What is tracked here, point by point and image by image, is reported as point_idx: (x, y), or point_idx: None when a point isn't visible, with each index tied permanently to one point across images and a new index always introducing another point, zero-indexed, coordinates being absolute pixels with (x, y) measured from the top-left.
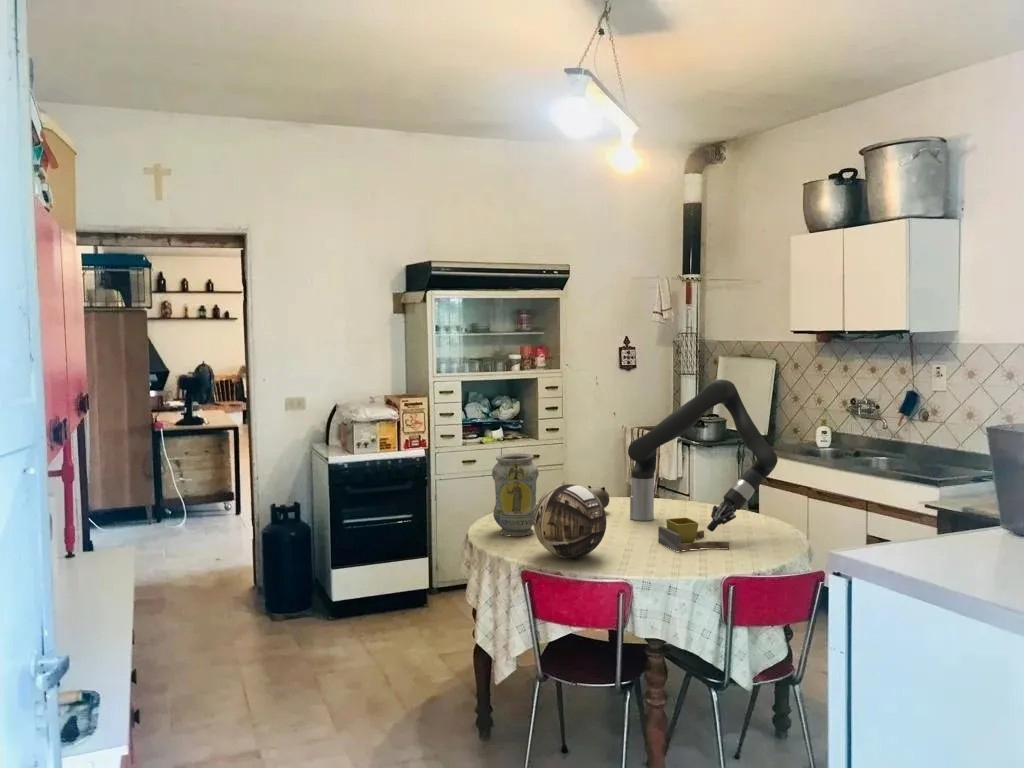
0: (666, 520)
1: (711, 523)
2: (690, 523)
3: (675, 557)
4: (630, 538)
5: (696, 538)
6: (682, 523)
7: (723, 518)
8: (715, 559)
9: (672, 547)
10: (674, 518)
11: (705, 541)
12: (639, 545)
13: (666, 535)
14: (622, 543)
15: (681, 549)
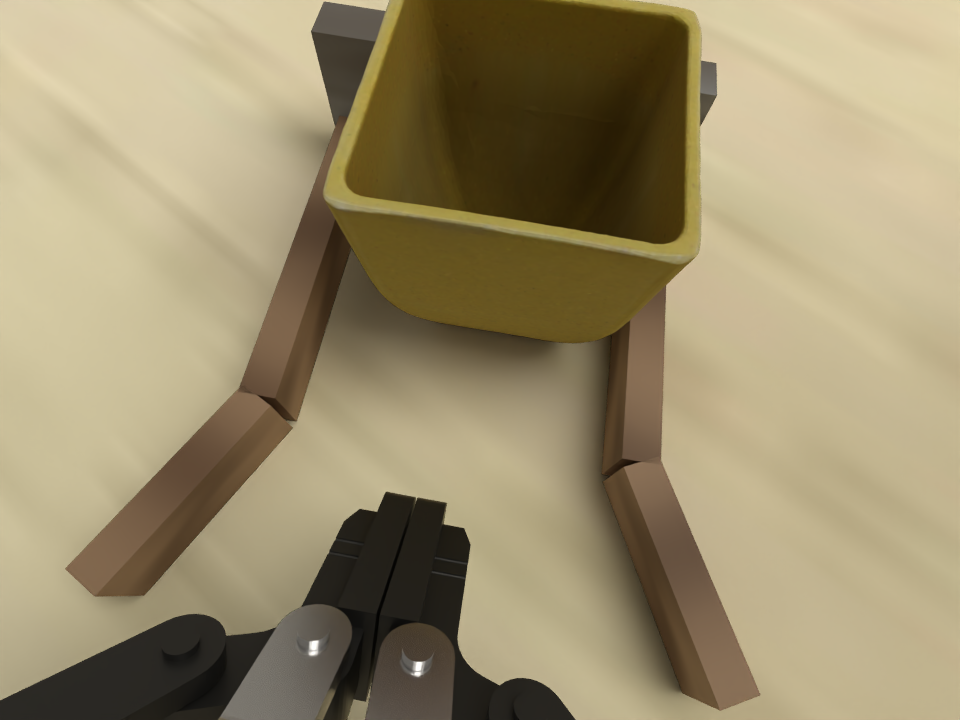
0: (676, 19)
1: (391, 551)
2: (361, 97)
3: (256, 60)
4: (833, 103)
5: (625, 528)
6: (653, 238)
7: (52, 684)
8: (6, 231)
9: None
10: (695, 94)
11: (285, 354)
12: None
13: None
14: (718, 9)
15: None
